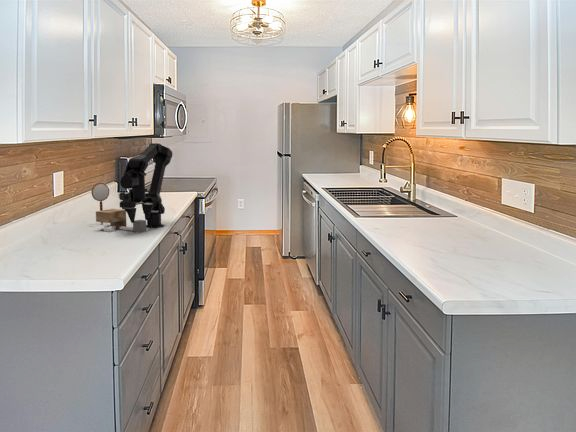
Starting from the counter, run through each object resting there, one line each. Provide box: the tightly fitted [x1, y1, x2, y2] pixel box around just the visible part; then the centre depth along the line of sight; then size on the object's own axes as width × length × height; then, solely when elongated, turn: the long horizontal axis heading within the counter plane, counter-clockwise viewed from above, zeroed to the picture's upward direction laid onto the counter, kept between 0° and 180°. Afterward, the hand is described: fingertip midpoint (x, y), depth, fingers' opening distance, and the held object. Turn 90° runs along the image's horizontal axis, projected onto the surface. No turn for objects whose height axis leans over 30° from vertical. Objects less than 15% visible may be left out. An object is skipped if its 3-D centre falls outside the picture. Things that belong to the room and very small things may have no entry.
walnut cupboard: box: [95, 208, 128, 229], centre depth 246 cm, size 11×8×9 cm
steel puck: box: [103, 224, 117, 233], centre depth 243 cm, size 5×5×2 cm
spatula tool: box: [119, 219, 147, 234], centre depth 244 cm, size 4×13×5 cm, turn 64°
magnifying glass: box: [91, 182, 110, 225], centre depth 257 cm, size 9×2×20 cm, turn 132°
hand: (139, 221), depth 241 cm, fingers open, 9 cm apart
